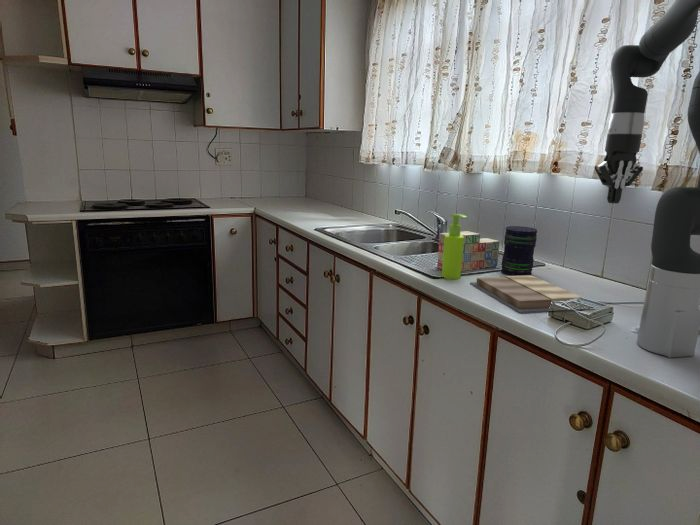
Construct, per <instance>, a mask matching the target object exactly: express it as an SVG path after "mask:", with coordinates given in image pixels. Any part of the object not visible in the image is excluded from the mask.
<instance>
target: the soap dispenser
mask: <svg viewBox="0 0 700 525" xmlns="http://www.w3.org/2000/svg"><path fill="white" fill-rule="evenodd" d="M450 217H452V222H451V223H450V224H449V230H448V233H449V234H448V235H445V239H444V251H443V264H442V270H441V278H443V277H444V279H447V280H460V279H461V275H462V271H461V266H462V255H463V244H464V236H461V235H460V232H462V230H461V229H462V225H461V224H460V223H459V220H460V219H467V218H468V216H467V215H466V214H463V213H462V214H461V213H451V214H450Z"/></svg>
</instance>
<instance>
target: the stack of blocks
mask: <svg viewBox="0 0 700 525" xmlns="http://www.w3.org/2000/svg"><path fill="white" fill-rule="evenodd" d="M448 234H449V232H440V233H439V237H438V238H439V242H438V247H437V248H438V253H437V264H436V268H437V269H439V270H441V269H442V264H443V251H444V239H445V235H448ZM460 235H461V236H464V244H463V255H462V266H461V270H466V271H469V270H468V269H474V270H476V269H475V268H482V267H490V268H495V267H494V266H497V267H498V262H499V261H498V260H499V252H500V251H499V250H500V249H499V248H500V240H496V239H491V238H488V237H486V238H485V237H484V238H481V234H480V233H478V232H472V231H468V230H466V231H465V230H464V231H460ZM482 269H483V268H482Z"/></svg>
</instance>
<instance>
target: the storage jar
mask: <svg viewBox="0 0 700 525" xmlns="http://www.w3.org/2000/svg"><path fill="white" fill-rule="evenodd" d="M537 233H538V229H537V228H534V227H528V226H519V225H517V226H516V225H510V226H506V227H505V233H504V241H503V242H504V243H503V244H504V250H503V255H502V258H501V270H500V272H501V274H503V275H505V276H525V275H532V274H533V273H532V271H533V268H534V260H535V259H534V252H535V248H536V246H537V244H536V243H537ZM532 276H533V275H532Z"/></svg>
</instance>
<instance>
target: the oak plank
mask: <svg viewBox="0 0 700 525" xmlns="http://www.w3.org/2000/svg"><path fill="white" fill-rule="evenodd" d="M504 277H506V278H508V279H510V280H512V281H514V282H516V283H518V284H520V285H522V286H524V287H526V288H528V289H530V290H532V291H534V292H537V293H539V294H541V295H543V296H545V297H547V298H549V299H551V302H553V301H567V300H570V299H573V298H582V299H583V297H582V296H579V295H577V294H575V293H573V292H570V291H568V290H566V289H564V288H561V287H559V286H558V285H554V284H552V283H550V282H548V281H546V280H543V279H541V278H538V277H536V276H534V275H525V276H509V275H505V276H504ZM550 305H551V303H550Z"/></svg>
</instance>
